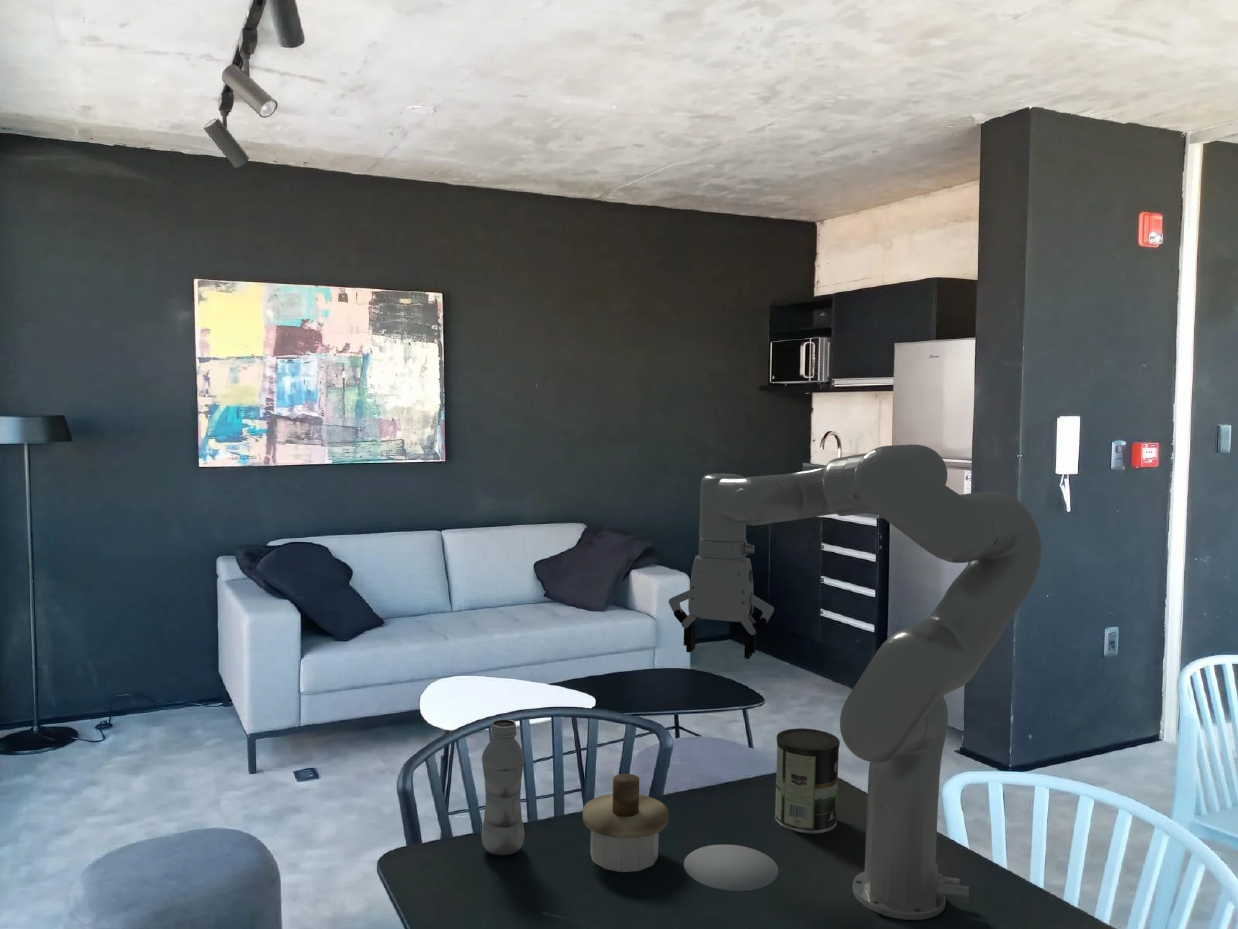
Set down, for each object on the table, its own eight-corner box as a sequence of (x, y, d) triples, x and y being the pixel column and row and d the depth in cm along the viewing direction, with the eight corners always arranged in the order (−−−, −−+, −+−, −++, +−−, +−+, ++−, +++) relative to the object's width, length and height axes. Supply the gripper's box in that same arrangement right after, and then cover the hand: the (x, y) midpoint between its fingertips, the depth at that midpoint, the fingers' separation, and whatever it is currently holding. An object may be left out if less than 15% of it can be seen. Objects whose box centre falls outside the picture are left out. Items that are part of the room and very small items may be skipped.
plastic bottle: (503, 865, 142) (505, 734, 141) (471, 852, 146) (472, 724, 145) (533, 849, 147) (534, 722, 146) (501, 837, 151) (502, 713, 150)
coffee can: (829, 808, 164) (832, 728, 163) (842, 836, 154) (846, 750, 153) (769, 807, 165) (772, 726, 164) (778, 834, 154) (781, 749, 153)
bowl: (664, 848, 149) (665, 810, 148) (645, 878, 139) (646, 838, 139) (604, 837, 152) (605, 800, 151) (581, 866, 142) (582, 827, 142)
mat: (785, 855, 147) (785, 854, 147) (769, 900, 134) (769, 898, 134) (697, 840, 152) (697, 838, 152) (672, 882, 138) (672, 880, 138)
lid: (678, 808, 149) (679, 769, 149) (653, 844, 137) (654, 802, 136) (600, 795, 153) (600, 757, 153) (569, 829, 141) (570, 788, 141)
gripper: (779, 550, 156) (776, 653, 157) (677, 543, 161) (674, 642, 163) (771, 557, 149) (767, 665, 150) (664, 549, 154) (661, 653, 156)
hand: (719, 653), depth 156 cm, fingers open, 9 cm apart
